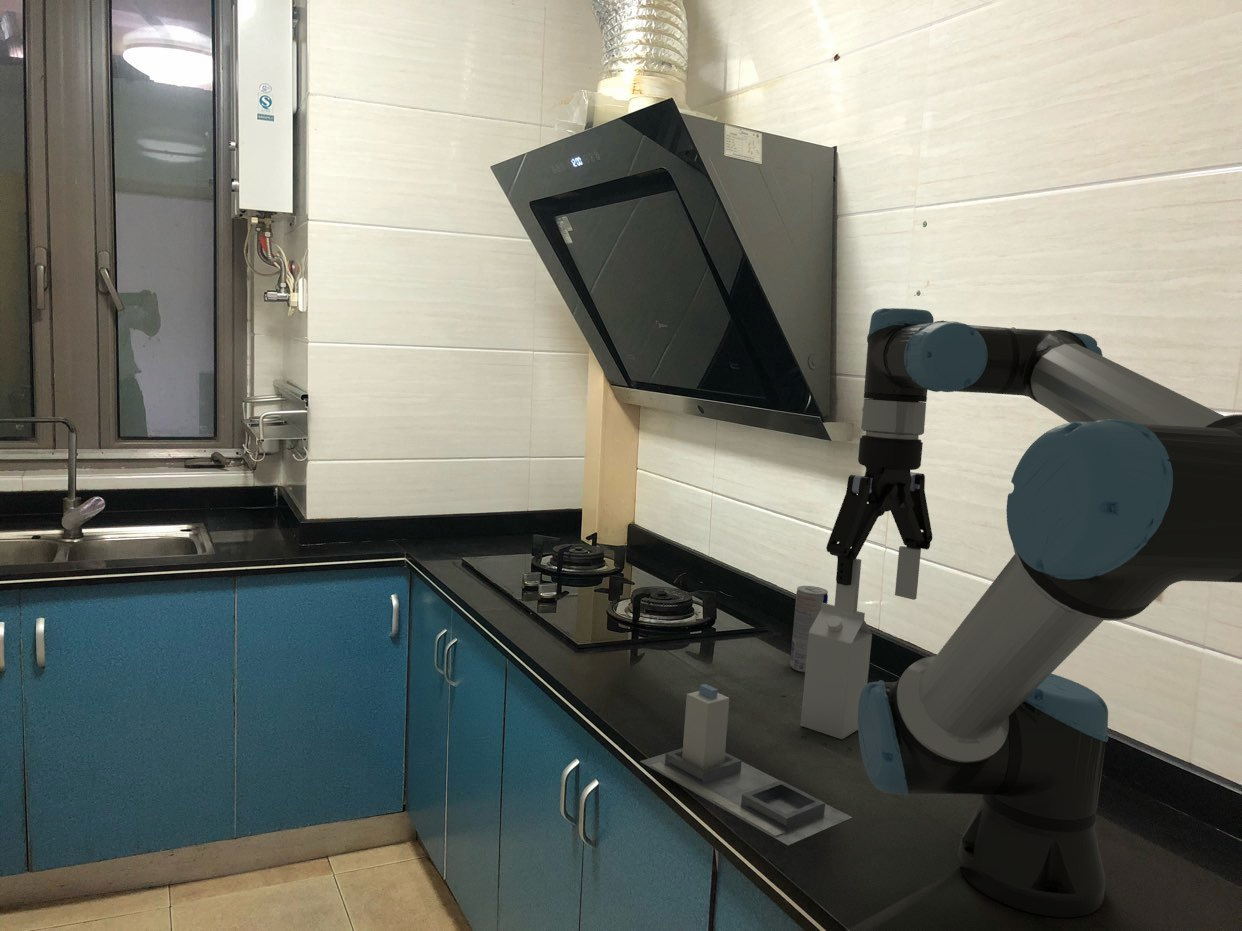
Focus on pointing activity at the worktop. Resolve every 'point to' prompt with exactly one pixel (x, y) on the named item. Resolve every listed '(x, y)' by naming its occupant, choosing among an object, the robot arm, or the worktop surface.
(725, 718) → the plug
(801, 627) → the beverage can
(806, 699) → the milk carton
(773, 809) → the panel
